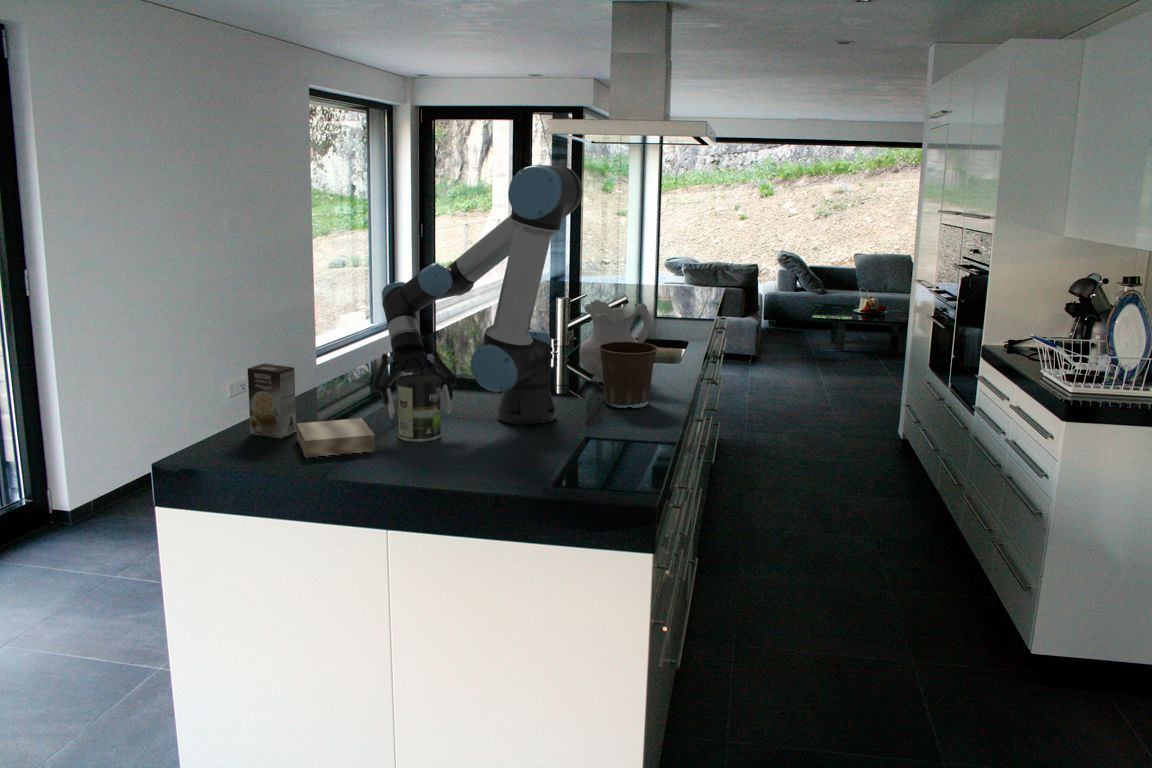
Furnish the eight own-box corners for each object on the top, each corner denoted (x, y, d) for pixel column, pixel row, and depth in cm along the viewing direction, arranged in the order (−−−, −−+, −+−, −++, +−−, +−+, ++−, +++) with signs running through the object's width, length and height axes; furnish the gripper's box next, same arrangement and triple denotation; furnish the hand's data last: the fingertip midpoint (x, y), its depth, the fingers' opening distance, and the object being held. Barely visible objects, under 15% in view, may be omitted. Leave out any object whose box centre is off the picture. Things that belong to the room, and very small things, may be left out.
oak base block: (362, 434, 226) (361, 418, 225) (374, 451, 212) (374, 434, 211) (297, 440, 220) (296, 423, 219) (305, 458, 207) (305, 440, 206)
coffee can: (447, 432, 230) (446, 375, 226) (432, 443, 220) (431, 384, 217) (407, 428, 232) (406, 372, 228) (390, 440, 222) (389, 381, 219)
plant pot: (639, 414, 250) (641, 354, 246) (586, 406, 258) (587, 348, 254) (665, 402, 264) (667, 345, 260) (613, 394, 272) (615, 339, 268)
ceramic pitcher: (653, 381, 295) (657, 301, 291) (644, 390, 276) (648, 304, 272) (586, 376, 300) (589, 297, 296) (571, 385, 281) (574, 301, 277)
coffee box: (248, 434, 224) (245, 368, 220) (266, 427, 229) (262, 363, 226) (281, 439, 221) (278, 371, 217) (298, 432, 227) (295, 366, 223)
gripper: (452, 345, 240) (469, 416, 230) (352, 350, 231) (365, 425, 220) (457, 327, 234) (475, 400, 224) (356, 332, 225) (369, 408, 215)
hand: (421, 413), depth 222 cm, fingers open, 13 cm apart
